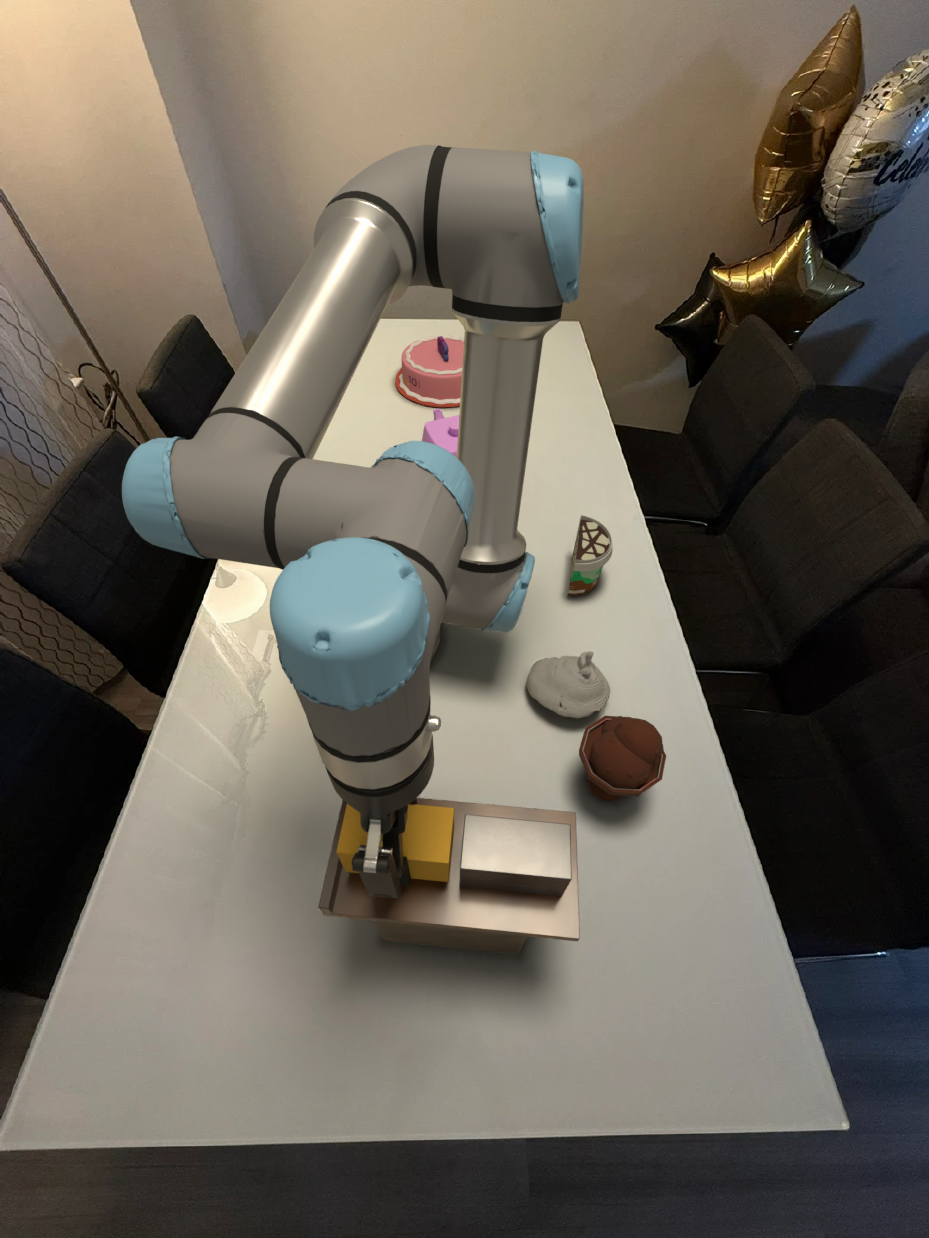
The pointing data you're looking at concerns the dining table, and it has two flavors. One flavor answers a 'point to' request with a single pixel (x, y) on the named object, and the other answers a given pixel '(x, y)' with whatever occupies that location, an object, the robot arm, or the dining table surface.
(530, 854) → the serving tray
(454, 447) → the teakettle
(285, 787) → the dining table surface
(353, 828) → the mustard back pad
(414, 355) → the cake
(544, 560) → the dining table surface
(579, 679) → the grey clay mound
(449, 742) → the dining table surface
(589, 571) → the food container
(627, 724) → the ice cream bowl
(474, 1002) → the dining table surface
